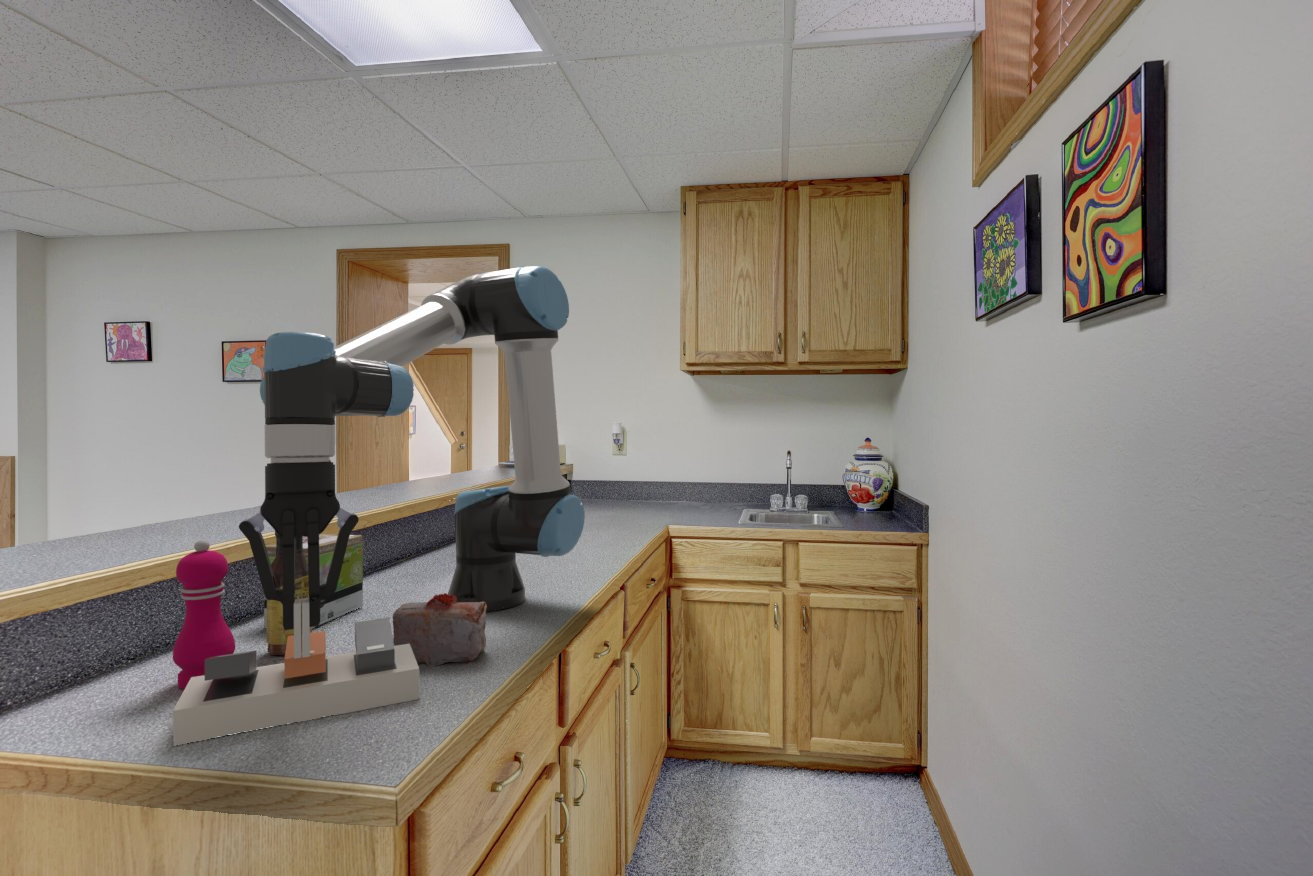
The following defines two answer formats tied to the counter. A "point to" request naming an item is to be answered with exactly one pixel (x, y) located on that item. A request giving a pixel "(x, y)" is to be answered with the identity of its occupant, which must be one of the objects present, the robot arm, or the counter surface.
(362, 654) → the rocker end
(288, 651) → the rocker middle
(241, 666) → the block
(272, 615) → the sauce bottle
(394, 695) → the rocker switch panel
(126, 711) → the counter surface
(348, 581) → the tea box
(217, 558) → the pepper mill
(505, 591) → the robot arm
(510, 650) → the counter surface
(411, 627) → the food item
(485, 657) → the counter surface
